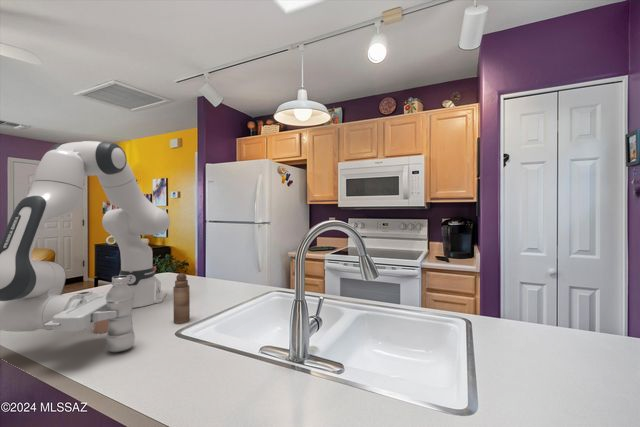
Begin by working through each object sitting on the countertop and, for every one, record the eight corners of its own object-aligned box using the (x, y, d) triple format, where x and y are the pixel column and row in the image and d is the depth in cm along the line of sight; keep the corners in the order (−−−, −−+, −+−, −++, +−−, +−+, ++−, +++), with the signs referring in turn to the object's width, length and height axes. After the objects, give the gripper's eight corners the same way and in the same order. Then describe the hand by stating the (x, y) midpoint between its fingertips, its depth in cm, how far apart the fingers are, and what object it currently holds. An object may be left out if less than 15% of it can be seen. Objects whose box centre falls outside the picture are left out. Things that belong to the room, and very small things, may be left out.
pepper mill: (176, 319, 105) (176, 271, 105) (191, 318, 106) (191, 271, 105) (171, 324, 100) (171, 274, 100) (187, 323, 101) (187, 274, 101)
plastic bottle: (121, 356, 78) (120, 280, 77) (99, 354, 79) (98, 278, 79) (140, 345, 84) (140, 274, 84) (120, 343, 85) (119, 273, 85)
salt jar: (100, 327, 98) (100, 299, 98) (118, 326, 99) (118, 298, 99) (89, 334, 92) (89, 304, 92) (109, 332, 93) (109, 303, 93)
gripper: (36, 313, 69) (102, 310, 71) (90, 289, 89) (140, 288, 92) (37, 340, 69) (102, 336, 71) (90, 310, 89) (140, 308, 92)
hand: (124, 309), depth 82 cm, fingers closed on plastic bottle, 6 cm apart
